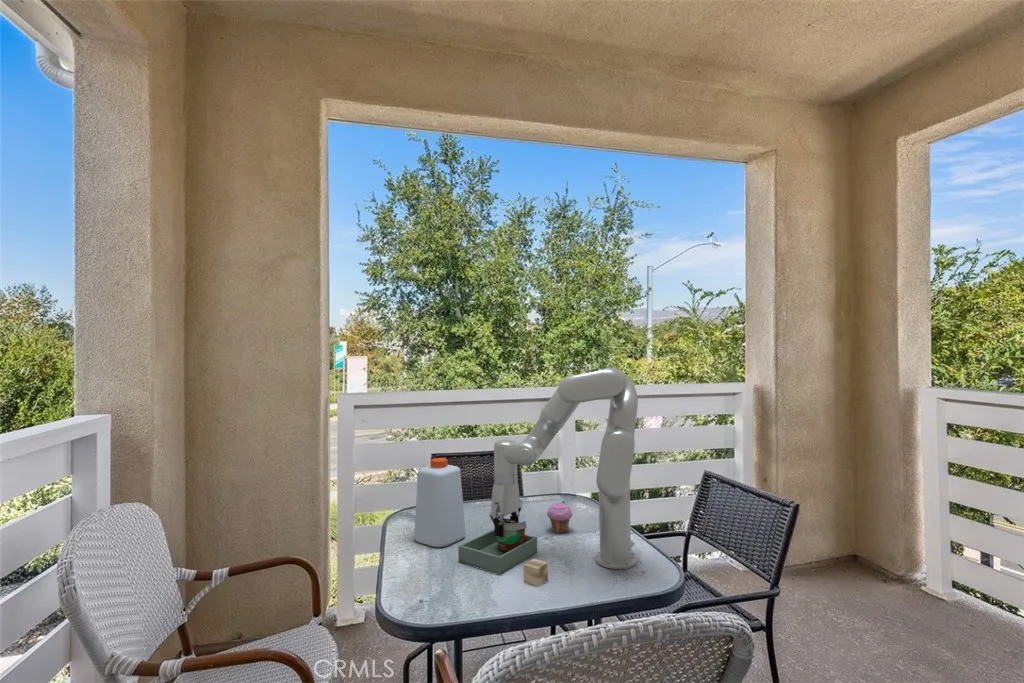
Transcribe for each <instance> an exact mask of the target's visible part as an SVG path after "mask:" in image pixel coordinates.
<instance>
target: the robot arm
mask: <svg viewBox="0 0 1024 683" xmlns="http://www.w3.org/2000/svg"><path fill="white" fill-rule="evenodd" d="M608 398H609V400H610V401H609V409H608V418H607V424H606V429H605V432H604V435H603V437H602V441H601V444H600V452H599V460H598V464H597V465H598V466H597V472H596V480H595V481H596V486H597V489H598V522H599V524H598V526H599V530H598V531H599V552H596V554H595V556H594V558H595V559H594V560H595V563H597V564H598V565H599V566H600V567H604V568H607V569H611V570H624V569H625V570H626V569H630V568H633V567H634V566H636V564H637V557H636V556H635V555H634V554H633V553H632V547H634V546H635V543H634V541H633V540H632V539H631V537H632V536H631V535H632V533H631V474H632V469H633V468H632V467H633V463H634V462H633V461H634V454H635V445H636V443H635V431H636V430H635V429H636V424H637V416H638V415H637V414H638V409H639V408H638V405H639V402H638V401H639V400H638V398H639V397H638V392H637V389H636V387H635V384H634V383H633V381H632V380H631V378H629V377H628V375H626V373H624V372H623V371H621V370H620V369H618V368H616V367H612V366H610V367H606V368H604V369H600V370H595V371H590V372H587V373H586V372H585V373H582V374H569V375H567V376H565V377H563V378H562V379H561V380H560V382H559V384H558V385H557V389H556V390H555V392H554V393H553V394H552V396H551V397H550V398H549V399H548V401H547V402H546V403H545V405H544V406H543V408H542V410H541V411H540V415H539V418H538V420H537V422H536V424H535V425H534V426H533V428H532V429H531V430H530V432H529V433H528V435H526V437H525V438H524V439H523V440H522V441H520V442H516V441H515V440H513V439H499V440H497V441H495V442H494V444H493V451H494V452H493V464H494V465H493V467H494V469H493V470H494V474H493V475H494V483H493V486H492V492H491V503H490V505H491V508H490V510H491V511H490V512H489V514H488V516H489V518H490V520H491V521H492V523H493V526H494V527H493V529H495V536H498V537H503V536H504V534H503V524H502V522H503V518H505V517H506V516H508V515H509V519H512V520H515V521H517V522H520V520H519V519H520V516H521V514H520V513H521V511H522V507H523V503H524V502H523V500H521V498H520V489H519V482H518V465H520V466H526V467H529V466H532V465H533V464H535V463H536V462H537V460H538V459H539V458H541V456H542V454H543V453H544V452H545V451H546V449H548V448H547V447H548V446H549V445H550V443H551V442H552V441H553V439H554V438H555V436H556V435H557V434H558V433H559V432H560V431H561V430H562V428H563V427H564V426H566V425H565V424H566V423H567V422H568V420H569V419H570V418H571V416H572V415H573V414H574V412H575V410H576V409H577V408H578V407H579V405H580V404H581V403H587V402H592V401H596V400H598V401H599V400H603V399H608ZM498 516H499V517H500V520H499V519H498Z"/></svg>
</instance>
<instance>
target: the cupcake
mask: <svg viewBox="0 0 1024 683" xmlns="http://www.w3.org/2000/svg"><path fill="white" fill-rule="evenodd" d="M546 514H547V517H548V518H549V520H550V523H551V528H552V530H553V532H555V533H557V534H560V533H561V534H562V533H567V532H568V531H569V526H570V525H569V522H570V519H572V516H573V512H572V509H571V507H570V506H568V505H567V504H565V503H552V504H551V505H550V507H548V508H547V512H546Z"/></svg>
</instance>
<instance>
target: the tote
mask: <svg viewBox="0 0 1024 683" xmlns="http://www.w3.org/2000/svg"><path fill="white" fill-rule="evenodd" d="M536 553H537V554H538V537H536V536H533V535H528V534H525V537H524V543H523V544H521V545H520V546H518V547H516V548H514V549H512V550H510V551H509V552H507V553H502V552H500V551H499V550H498V542H497V536H495V528H493V529H492V530H489V531H487V532H485V533H483V534H481V535H478V536H476V537H475V538H472V539H470V540H468V541H466V542H464V543H462V544H459V545H458V562H459V563H461V562H462V563H461V564H464V563H465V564H464V565H467V564H468V565H467V566H470V565H471V567H473V566H475V567H474V568H476V567H478V568H477V569H480V568H481V569H480V570H483V569H484V570H483V571H486V570H487V572H489V571H490V573H492V572H493V574H495V573H496V575H499V576H501V575H503V574H505V573H506V572H508V571H510V570H511V569H513V568H514V566H515V567H516V565H517V566H518V565H520V564H522V563H523V562H525V561H526V559H527V560H528V559H530V558H531V556H532V557H533V556H535V555H537V554H536ZM534 554H535V555H534ZM529 557H530V558H529ZM524 560H525V561H524ZM521 562H522V563H521ZM519 563H520V564H519ZM509 569H510V570H509ZM504 572H505V573H504Z"/></svg>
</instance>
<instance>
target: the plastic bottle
mask: <svg viewBox="0 0 1024 683" xmlns="http://www.w3.org/2000/svg"><path fill="white" fill-rule="evenodd" d="M461 474H462V473H461V468H460V467H459V466H456V465H452V464H449V462H448V459H447V458H446V457H437V458H432V459H430V465H428V466H425V467H422V468H420V469H419V470H418V471H417V482H416V484H417V485H416V503H415V521H414V536H413V537H414V540H415V541H416V542H417V543H419V544H422V545H423V544H424V545H426V546H429V547H433V548H445V547H448V546H450V545H452V544H455V543H457V542H459V541H461V540H463V539H464V538H465V537H466V523H465V512H464V499H463V486H462V476H461Z"/></svg>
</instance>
